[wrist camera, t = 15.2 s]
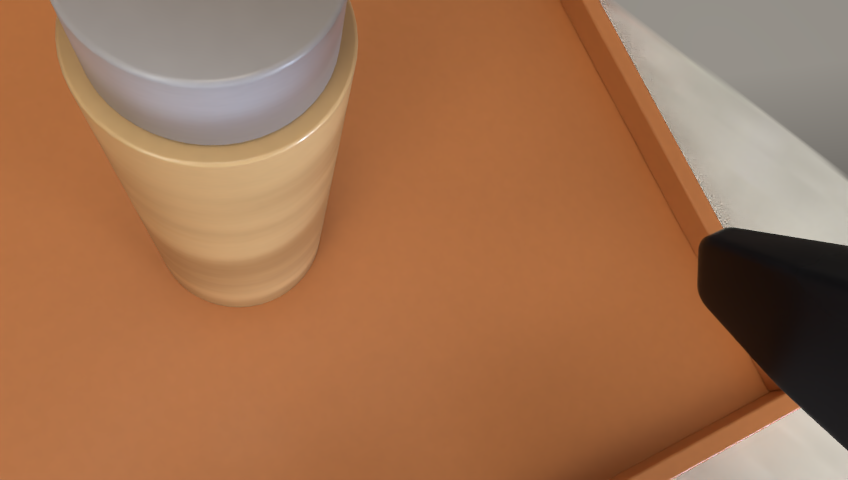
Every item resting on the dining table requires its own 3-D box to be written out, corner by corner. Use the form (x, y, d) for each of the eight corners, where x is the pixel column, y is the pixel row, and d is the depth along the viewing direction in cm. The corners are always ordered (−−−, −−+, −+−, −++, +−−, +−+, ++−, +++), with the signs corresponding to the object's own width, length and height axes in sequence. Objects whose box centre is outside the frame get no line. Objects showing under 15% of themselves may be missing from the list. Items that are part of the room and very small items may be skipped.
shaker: (319, 307, 22) (376, 116, 10) (153, 307, 21) (-11, 97, 9) (320, 159, 23) (371, -174, 11) (163, 153, 23) (30, -215, 10)
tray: (784, 403, 24) (817, 399, 23) (-152, 917, 17) (-194, 962, 15) (474, -174, 29) (486, -210, 27) (-388, 32, 21) (-439, -2, 20)
